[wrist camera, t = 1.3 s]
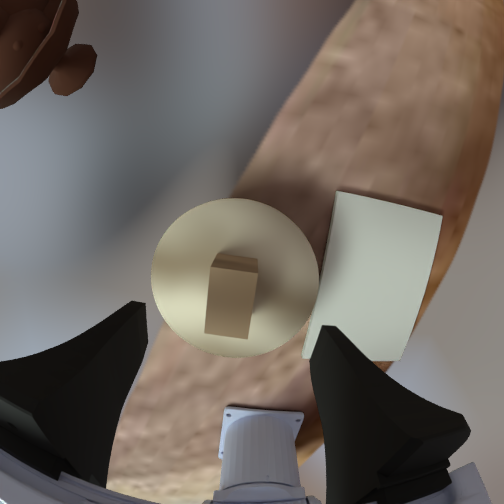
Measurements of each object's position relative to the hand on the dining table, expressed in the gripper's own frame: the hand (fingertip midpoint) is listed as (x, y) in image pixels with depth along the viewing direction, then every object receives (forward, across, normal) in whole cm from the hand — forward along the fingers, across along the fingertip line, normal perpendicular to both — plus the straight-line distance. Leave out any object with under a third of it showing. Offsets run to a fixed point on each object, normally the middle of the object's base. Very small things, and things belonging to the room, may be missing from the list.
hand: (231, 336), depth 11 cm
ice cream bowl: (+14, +17, -14) cm, 26 cm away
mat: (+10, -12, +2) cm, 16 cm away
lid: (+8, 0, +2) cm, 8 cm away
